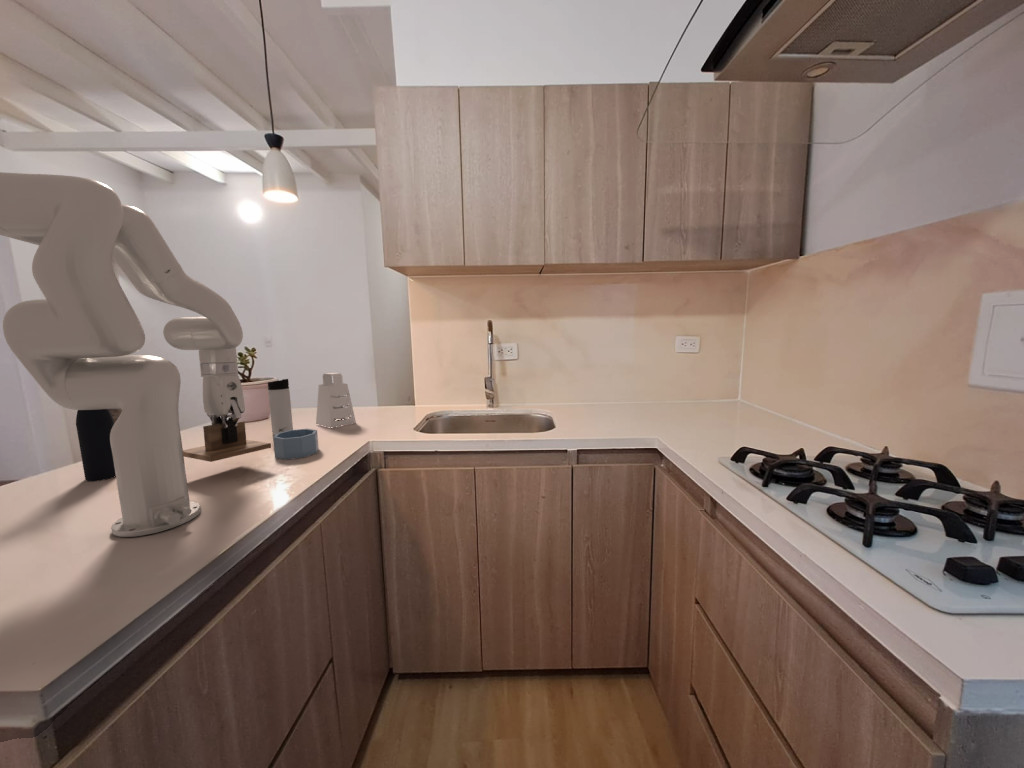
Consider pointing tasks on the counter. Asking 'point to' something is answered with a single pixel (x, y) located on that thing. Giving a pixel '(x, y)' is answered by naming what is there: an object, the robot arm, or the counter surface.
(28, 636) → the counter surface
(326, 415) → the grater
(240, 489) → the counter surface
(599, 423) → the counter surface
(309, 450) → the bowl
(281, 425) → the travel mug
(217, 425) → the wooden stand
